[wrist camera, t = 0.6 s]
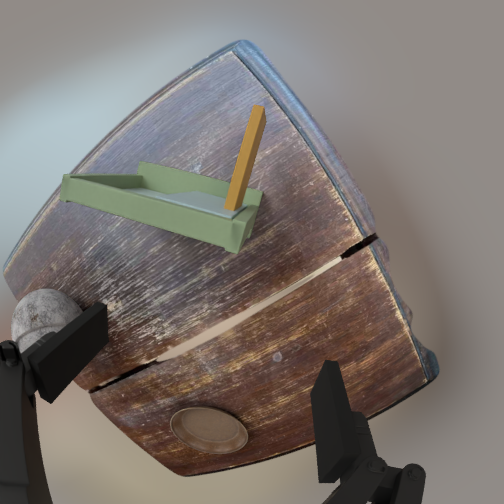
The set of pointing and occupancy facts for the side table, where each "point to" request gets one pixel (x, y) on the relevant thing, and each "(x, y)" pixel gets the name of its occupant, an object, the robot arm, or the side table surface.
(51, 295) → the decorative orb
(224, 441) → the saucer
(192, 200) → the window pane
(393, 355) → the side table surface
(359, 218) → the side table surface
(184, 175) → the window frame
